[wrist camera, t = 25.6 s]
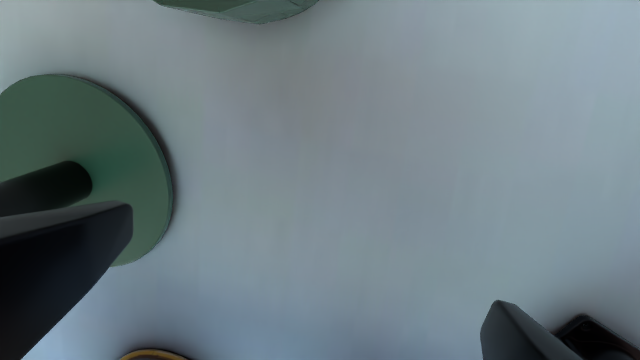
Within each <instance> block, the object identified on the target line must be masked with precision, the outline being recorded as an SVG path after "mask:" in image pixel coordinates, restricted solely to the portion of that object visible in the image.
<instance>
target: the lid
mask: <svg viewBox="0 0 640 360" xmlns="http://www.w3.org/2000/svg"><path fill="white" fill-rule="evenodd" d="M112 200H118V201H122V202H125V203H129V204H131V205H132V207H133V211H134V232H133V237H132V239H131V241H130V243H129V244H128V245H127V246H126V248H125V249H124V250H123V251H122V253H121V254H120V255H119V256H118V257H117V259H116V260H115V261H114V262H113V263H112V265H111V266H110V267H115V266H122V265H125V264H128V263H131V262H133V261H135V260H137V259H139V258H141V257H142V256H144V255H145V254H147V253H148V252H149V251H150V250H152V249H153V247H154V246H155V245H156V244H157V243H158V242H159V241H160V239H161V238H162V236H163V235H164V233H165V231H166V229H167V226H168V224H169V221H170V217H171V213H172V205H173V189H172V183H171V177H170V173H169V169H168V166H167V163H166V160H165V158H164V155H163V153H162V150H161V149H160V147H159V145H158V143H157V141H156V139H155V138H154V136H153V135H152V133H151V132H150V130H149V129H148V127H147V126H146V125H145V123H144V122H143V121H142V120H141V119H140V117H139V116H138V115H137V114H136V113H135V112H134V111H133V110H132V109H131V108H130V107H129V106H128V105H127V104H125V103H124V102H123V101H122V100H120V99H119V98H118V97H116V96H115V95H114V94H112V93H110V92H109V91H107V90H106V89H104V88H102V87H100V86H98V85H96V84H94V83H92V82H89V81H87V80H84V79H81V78H77V77H74V76H68V75H62V74H45V75H37V76H31V77H28V78H25V79H22V80H20V81H18V82H16V83H14V84H12V85H11V86H9V87H8V88H7V89H6V90H5V91H3V92H2V93H1V95H0V217H7V216H13V215H20V214H26V213H33V212H40V211H46V210H53V209H59V208H66V207H73V206H79V205H86V204H92V203H99V202H106V201H112Z"/></svg>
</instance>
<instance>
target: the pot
mask: <svg viewBox="0 0 640 360" xmlns="http://www.w3.org/2000/svg"><path fill="white" fill-rule="evenodd" d="M153 1H155V2H156V3H158V4H159V5H162V6H164V7H169V8H173V9H178V10H182V11H187V12H191V13H196V14H200V15H205V16H209V17H214V18H218V19H225V20H233V21H239V22H246V23H255V24H265V23H268V22H273V21H277V20H282V19H286V18H288V17H291V16H293V15H296V14H298V13H300V12H302V11H304V10H306V9H307V8H309V7H311V6H312V5H314V4H315V3H316V2H318V1H319V0H153Z"/></svg>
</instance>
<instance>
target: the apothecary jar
mask: <svg viewBox="0 0 640 360" xmlns="http://www.w3.org/2000/svg"><path fill="white" fill-rule="evenodd" d="M120 360H188V359H186V358H184V357H181V356H179V355H176V354H174V353H171V352H167V351H163V350H156V349H144V350H138V351H134V352H131V353H129V354H127V355H125V356H124V357H122V358H121V359H120Z"/></svg>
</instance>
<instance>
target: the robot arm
mask: <svg viewBox="0 0 640 360" xmlns="http://www.w3.org/2000/svg"><path fill="white" fill-rule="evenodd" d="M133 232H134V211H133V207H132V205H131V204H129V203H125V202H122V201H118V200H112V201H106V202H99V203H92V204H86V205H79V206H73V207H66V208H59V209H53V210H46V211H40V212H33V213H26V214H20V215H13V216H7V217H0V360H21V359H22V358H23V357H24V356H25V355H26V354H27V353H28V352H29V351H30V350H31V349H32V348H33V347H34V346H35V345H36V344H37V343H38V342H39V341H40V340H41V339H42V338H43V337H44V336H45V335H46V334H47V333H48V332H49V331H50V330H51V329H52V328H53V327H54V326H55V325H56V324H57V323H58V322H59V321H60V320H61V319H62V318H63V317H64V316H65V315H66V314H67V313H68V312H69V311H70V310H71V309H72V308H73V307H74V306H75V305H76V304H77V303H78V302H79V301H80V300H81V299H82V298H83V297H84V296H85V295H86V294H87V293H88V292H89V291H90V290H91V288H92V287H93V286H94V285H95V284H96V283H97V282H98V280H99V279H100V278H101V277H102V276H103V274H104V273H105V272H106V271H107V269H108V268H109V267H110V266H111V265H112V263H113V262H114V261H115V260H116V259H117V257H118V256H119V255H120V254H121V253H122V251H123V250H124V249H125V248H126V246H127V245H128V244H129V243H130V241H131V239H132V237H133ZM584 324H587V325H585V326H583V325H584ZM480 338H481V346H482V354H483V360H640V348H638V347H637V346H635V345H633V344H632V343H630V342H629V341H627V340H626V339H624V338H622V337H621V336H619V335H618V334H616V333H615V332H613V331H611V330H610V329H608V328H607V327H605V326H604V325H602V324H600V323H599V322H597V321H596V320H594V319H593V318H591V317H589V316H585V315H583V316H579V317H577V318H576V319H575V320H573V321H572V322H571V323H570V324H568V325H567V326H566V327H565V328H564V329H562V330H561V331H560V332H559V333H557V334H556V335H555V336H553V335H552V334H551V333H550V332H548V331H547V330H546V329H545V328H544V327H542V326H541V325H540V324H539V323H537V322H536V321H535V320H534V319H533V318H531V317H530V316H529V315H528V314H526V313H525V312H524V311H523V310H522V309H520V308H519V307H518V306H517V305H515V304H513V303H509V302H505V301H501V300H496V301H494V302H493V304H492V305H491V308H490V310H489V312H488V314H487V316H486V318H485V321H484V323H483V325H482V327H481V332H480Z"/></svg>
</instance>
